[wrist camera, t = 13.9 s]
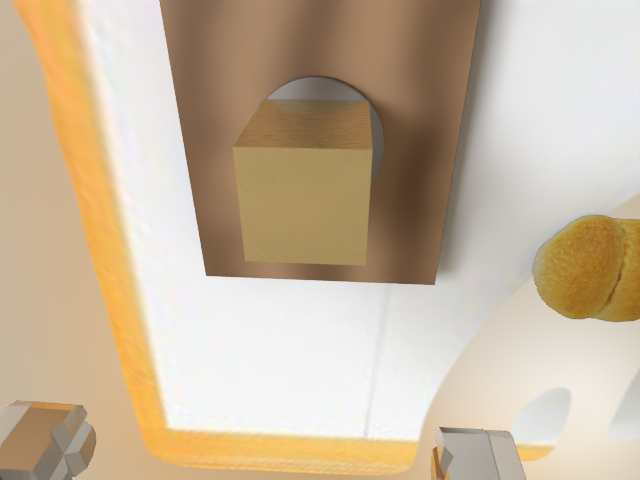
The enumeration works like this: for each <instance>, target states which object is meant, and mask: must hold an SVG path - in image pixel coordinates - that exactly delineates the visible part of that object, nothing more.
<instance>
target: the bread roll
mask: <svg viewBox="0 0 640 480" xmlns="http://www.w3.org/2000/svg"><path fill="white" fill-rule="evenodd" d="M533 276H534V280H535V284H536V286H537V290H538V293H539V295H540V296H541V298H542V300H543V301H544V302H545V303H546V304H547V305H548V306H549V307H550V308H552V309H554V310H555V311H556V312H558V313H559V314H561V315H563V316H565V317H567V318H571V319H585V318H596V319H600V320H604V321H612V322H623V321H634V320H638V319H640V220H633V219H618V218H610V217H606V216H585V217H581V218H579V219H577V220H575V221H573V222H571V223H570V224H569V225H567V226H566V227H565V228H563V229H562V230H561V231H560V232H558V233H557V234H556V235H555V236H554V237H552V238H551V239H550V240H549V241H547V242H546V243H545V244H544V245H543V246H542V247H541V248H540V249H539V250H538V252H537V254H536V257H535V260H534V263H533Z"/></svg>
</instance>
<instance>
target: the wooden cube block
mask: <svg viewBox="0 0 640 480" xmlns="http://www.w3.org/2000/svg"><path fill="white" fill-rule="evenodd" d="M372 151H373V148H372V135H371V121H370V108H369V101H340V100H275V99H263V100H262V102H261V103H260V105H259V106H258V108H257V110H256V111H255V113H254V114H253V116H252V117H251V119H250V120H249V122H248V124H247V125H246V127H245V128H244V130H243V131H242V133H241V134H240V136H239V137H238V139H237V141H236V142H235V144H234V145H233V155H234V164H235V173H236V182H237V191H238V200H239V209H240V218H241V228H242V237H243V246H244V255H245V261H253V262H280V263H306V264H333V265H360V266H366V251H367V234H368V217H369V201H370V184H371V168H372Z"/></svg>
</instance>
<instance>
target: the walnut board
mask: <svg viewBox="0 0 640 480" xmlns="http://www.w3.org/2000/svg"><path fill="white" fill-rule="evenodd" d="M159 1H160V7H161V12H162V18H163V24H164V30H165V36H166V42H167V48H168V54H169V60H170V65H171V71H172V77H173V83H174V89H175V95H176V101H177V107H178V113H179V118H180V124H181V130H182V136H183V142H184V148H185V154H186V160H187V166H188V171H189V177H190V183H191V189H192V195H193V201H194V207H195V213H196V219H197V225H198V230H199V236H200V242H201V248H202V254H203V260H204V266H205V272H206V276H223V277H248V278H273V279H298V280H324V281H349V282H374V283H399V284H424V285H435V279H436V273H437V267H438V261H439V255H440V249H441V243H442V237H443V231H444V224H445V218H446V212H447V206H448V200H449V194H450V188H451V182H452V176H453V169H454V163H455V157H456V151H457V145H458V139H459V133H460V127H461V121H462V114H463V108H464V102H465V96H466V90H467V84H468V78H469V72H470V66H471V59H472V53H473V47H474V41H475V35H476V29H477V23H478V17H479V11H480V4H481V0H159ZM263 99H275V100H340V101H369V108H370V121H371V135H372V148H373V151H372V168H371V184H370V201H369V217H368V234H367V251H366V266H360V265H333V264H306V263H280V262H253V261H245V255H244V246H243V237H242V228H241V218H240V209H239V200H238V191H237V182H236V173H235V164H234V155H233V145H234V144H235V142H236V141H237V139H238V137H239V136H240V134H241V133H242V131H243V130H244V128H245V127H246V125H247V124H248V122H249V120H250V119H251V117H252V116H253V114H254V113H255V111H256V110H257V108H258V106H259V105H260V103H261V102H262V100H263Z"/></svg>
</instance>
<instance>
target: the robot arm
mask: <svg viewBox="0 0 640 480" xmlns="http://www.w3.org/2000/svg"><path fill="white" fill-rule="evenodd" d="M86 416H87V412H86V410H85V408H84V407H83V405H72V404H59V403H46V402H36V401H20V400H16V401H15V402H14V403H12V404H10V405H9V406H8V407H7V408H6V409H5V411H4V412H3V413H2V414H1V416H0V480H75V477H76V476H77V475H78V474H79V473H81V472H82V471H84V470H85V469H86V468H87V467H88V465H89V463H90V461H91V458H92V456H93V453H94V449H95V445H96V433H95V430H94V428H93V426H92V425H90V424H89V423H88V422H86V421H85V418H86ZM436 444H437V446H436V447H435V448H434V449H433V451H432V457H431V480H526V477H525V474H524V471H523V468H522V465H521V461H520V458H519V455H518V452H517V449H516V445H515V442H514V439H513V436H512V435H511V434H510V432H508V431H494V430H483V429H468V428H466V429H465V428H446V427H439V428H438V430H437V432H436Z"/></svg>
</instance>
